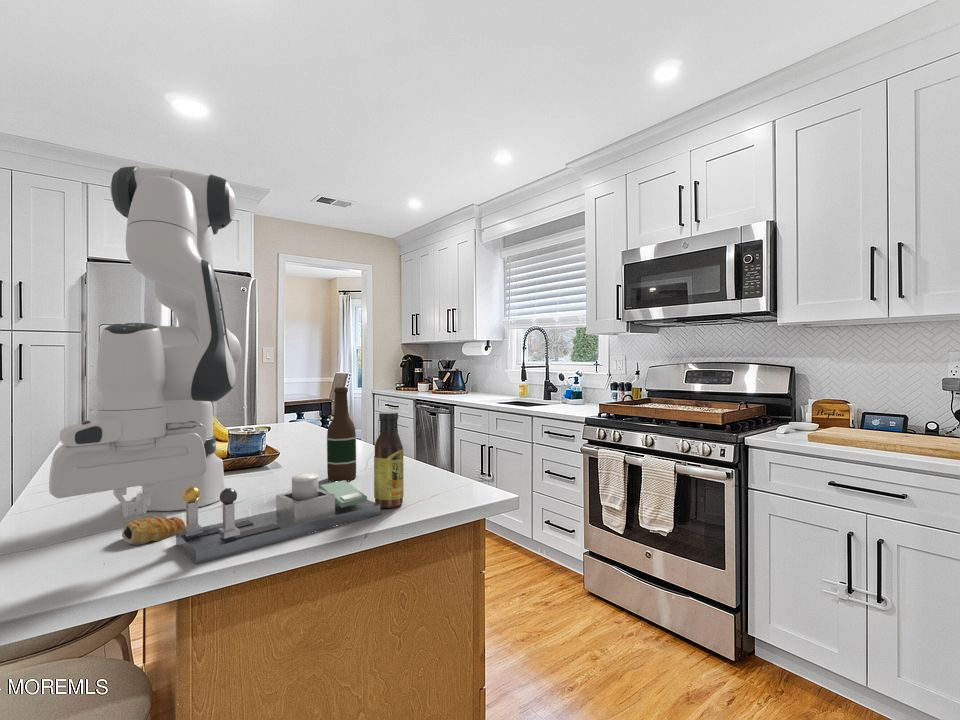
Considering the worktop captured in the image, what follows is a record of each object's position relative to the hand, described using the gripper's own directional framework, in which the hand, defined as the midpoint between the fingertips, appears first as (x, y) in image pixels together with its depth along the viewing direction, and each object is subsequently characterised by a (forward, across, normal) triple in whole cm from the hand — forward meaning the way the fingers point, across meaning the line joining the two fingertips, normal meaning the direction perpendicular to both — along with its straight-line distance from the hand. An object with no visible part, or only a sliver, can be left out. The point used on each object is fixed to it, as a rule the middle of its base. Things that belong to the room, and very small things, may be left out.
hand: (134, 514), depth 79 cm
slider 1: (+5, -8, 0) cm, 9 cm away
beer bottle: (+8, -50, -26) cm, 57 cm away
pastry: (+8, -4, -12) cm, 15 cm away
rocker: (+3, -35, +2) cm, 35 cm away
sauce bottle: (+8, -45, +3) cm, 46 cm away
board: (+8, -23, +2) cm, 25 cm away
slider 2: (+5, -12, +6) cm, 14 cm away
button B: (+3, -27, +2) cm, 27 cm away
